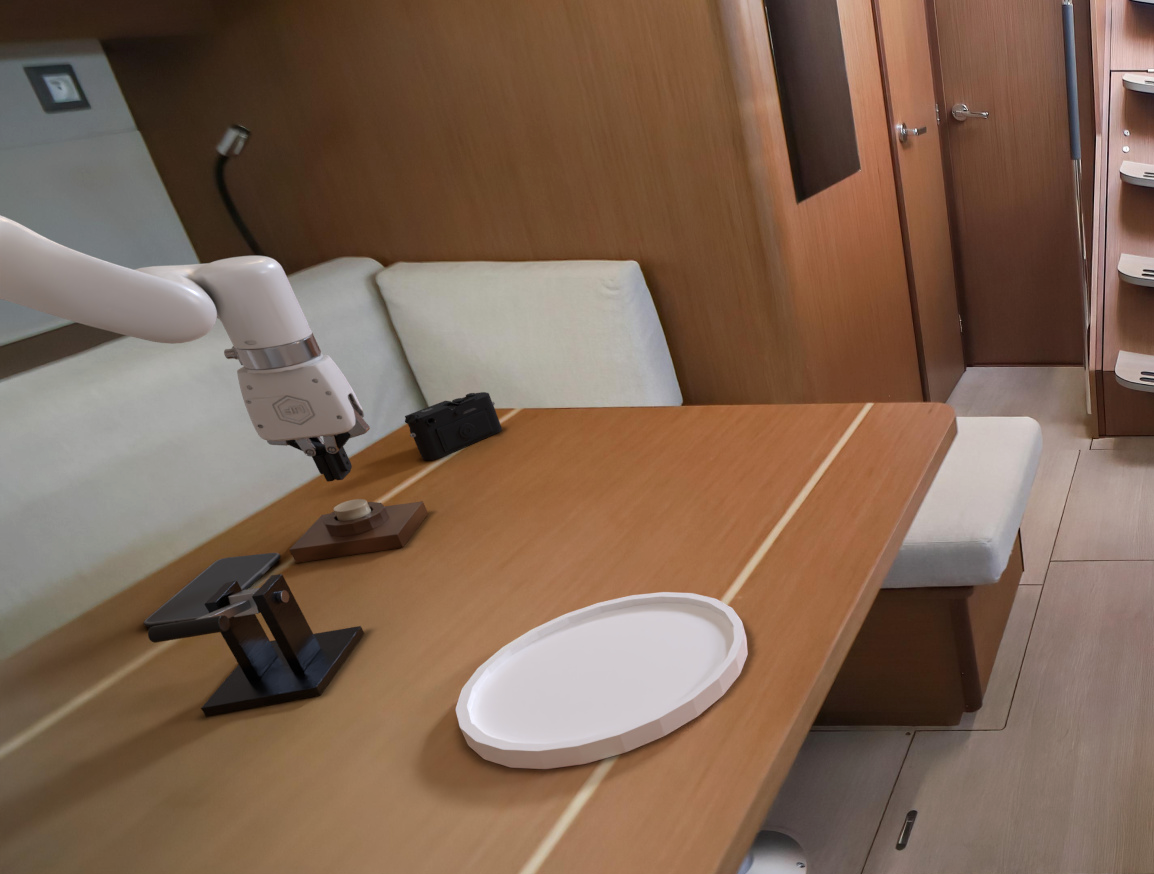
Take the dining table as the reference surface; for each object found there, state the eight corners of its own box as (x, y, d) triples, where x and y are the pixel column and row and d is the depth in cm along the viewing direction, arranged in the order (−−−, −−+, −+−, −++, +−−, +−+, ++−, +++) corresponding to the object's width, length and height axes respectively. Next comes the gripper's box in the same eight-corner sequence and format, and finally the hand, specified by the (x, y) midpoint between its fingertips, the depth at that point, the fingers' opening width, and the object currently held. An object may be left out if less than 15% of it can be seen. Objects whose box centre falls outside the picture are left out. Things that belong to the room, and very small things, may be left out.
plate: (646, 586, 127) (641, 571, 126) (800, 644, 116) (796, 628, 115) (405, 717, 104) (397, 700, 103) (570, 805, 94) (563, 786, 92)
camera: (480, 423, 171) (464, 382, 167) (511, 428, 169) (496, 387, 165) (397, 458, 158) (378, 414, 155) (430, 463, 157) (412, 419, 153)
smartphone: (136, 624, 116) (217, 557, 129) (140, 631, 117) (220, 563, 129) (211, 615, 118) (283, 550, 131) (215, 622, 118) (286, 556, 131)
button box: (295, 563, 130) (282, 538, 128) (328, 527, 138) (316, 503, 137) (403, 547, 134) (392, 523, 132) (428, 513, 142) (418, 490, 141)
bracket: (320, 695, 107) (274, 609, 102) (205, 716, 103) (151, 629, 98) (364, 633, 117) (325, 552, 112) (261, 651, 113) (215, 568, 108)
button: (333, 524, 133) (328, 513, 132) (344, 511, 136) (339, 501, 135) (365, 519, 134) (360, 509, 133) (375, 507, 137) (371, 497, 136)
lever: (222, 636, 97) (216, 614, 96) (151, 648, 95) (144, 625, 95) (292, 603, 108) (287, 583, 108) (230, 613, 106) (224, 592, 106)
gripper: (189, 370, 118) (257, 498, 127) (339, 355, 123) (395, 479, 131) (222, 350, 124) (284, 473, 133) (363, 336, 129) (415, 456, 138)
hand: (339, 476), depth 132 cm, fingers closed
